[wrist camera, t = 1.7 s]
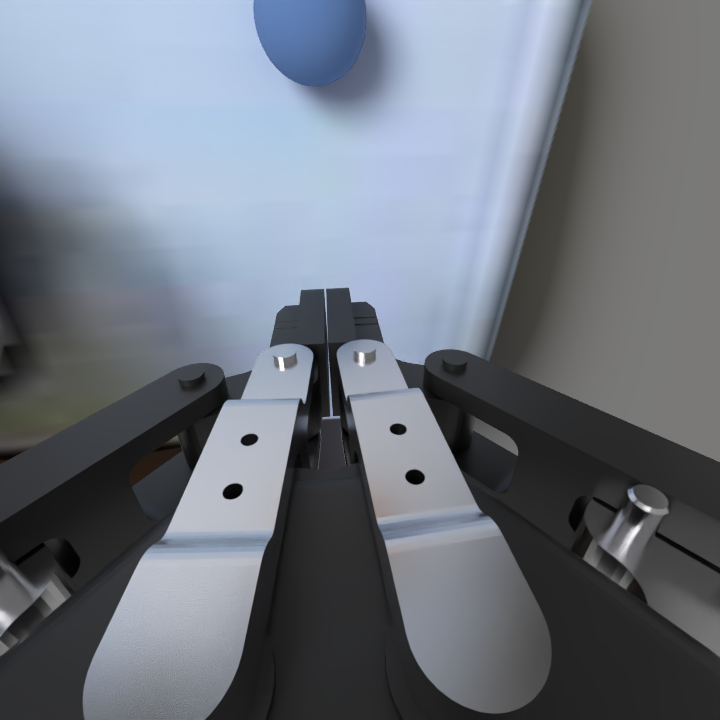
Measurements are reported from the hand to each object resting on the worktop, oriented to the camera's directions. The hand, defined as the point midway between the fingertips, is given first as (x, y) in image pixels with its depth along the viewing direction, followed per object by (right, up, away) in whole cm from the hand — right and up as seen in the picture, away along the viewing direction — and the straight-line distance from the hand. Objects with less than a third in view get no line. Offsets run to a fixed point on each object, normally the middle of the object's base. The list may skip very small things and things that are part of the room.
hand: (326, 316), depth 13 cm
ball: (-1, +16, +7) cm, 17 cm away
